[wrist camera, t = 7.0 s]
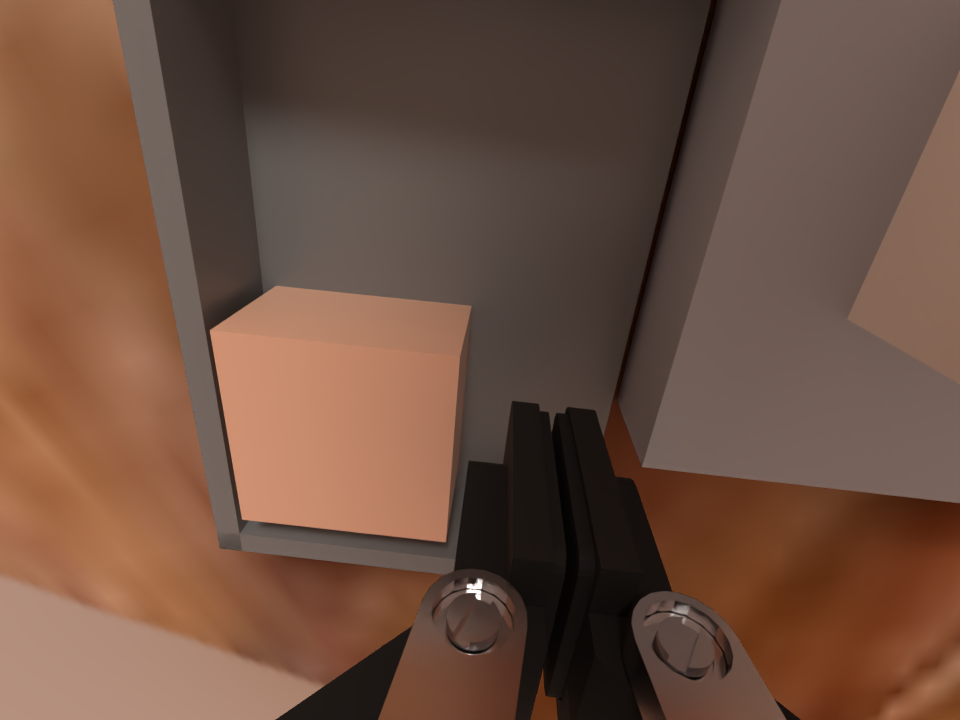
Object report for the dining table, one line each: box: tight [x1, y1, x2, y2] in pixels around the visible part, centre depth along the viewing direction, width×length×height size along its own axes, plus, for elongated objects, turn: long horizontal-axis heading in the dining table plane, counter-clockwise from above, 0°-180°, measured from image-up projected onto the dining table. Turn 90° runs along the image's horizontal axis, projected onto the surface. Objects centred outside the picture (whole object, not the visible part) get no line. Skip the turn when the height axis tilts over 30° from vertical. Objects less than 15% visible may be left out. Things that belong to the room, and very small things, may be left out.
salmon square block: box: [210, 286, 472, 542], centre depth 12 cm, size 5×5×3 cm
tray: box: [113, 0, 711, 575], centre depth 11 cm, size 14×10×3 cm
